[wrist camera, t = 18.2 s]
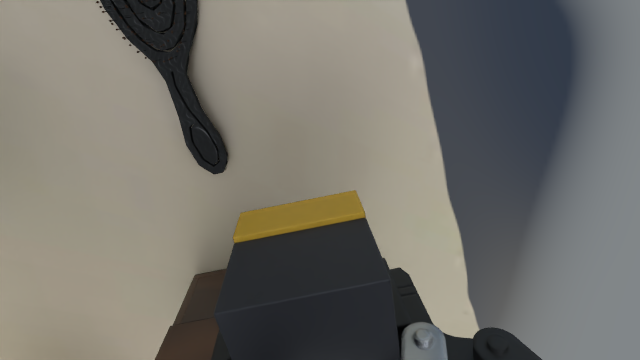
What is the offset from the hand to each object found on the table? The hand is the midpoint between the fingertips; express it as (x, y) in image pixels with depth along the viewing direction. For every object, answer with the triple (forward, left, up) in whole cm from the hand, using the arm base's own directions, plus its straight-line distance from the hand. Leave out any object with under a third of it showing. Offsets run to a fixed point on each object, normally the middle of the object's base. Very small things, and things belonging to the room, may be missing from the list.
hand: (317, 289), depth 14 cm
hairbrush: (-10, +11, -23) cm, 27 cm away
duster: (0, 0, 0) cm, 0 cm away
